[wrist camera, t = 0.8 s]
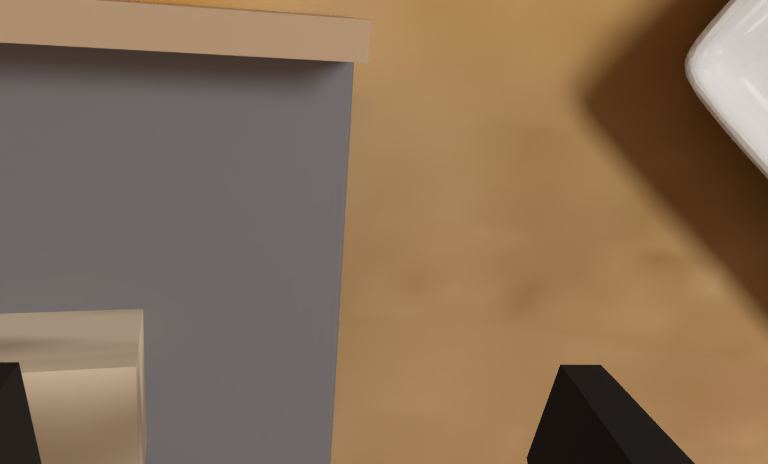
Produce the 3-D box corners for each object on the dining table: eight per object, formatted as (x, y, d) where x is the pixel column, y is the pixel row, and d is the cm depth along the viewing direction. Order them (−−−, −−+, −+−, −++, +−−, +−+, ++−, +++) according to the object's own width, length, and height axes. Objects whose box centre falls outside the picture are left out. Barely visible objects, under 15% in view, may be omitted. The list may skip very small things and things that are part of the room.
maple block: (146, 443, 25) (140, 520, 21) (-15, 456, 24) (-52, 540, 20) (143, 309, 24) (135, 366, 20) (-30, 314, 22) (-71, 377, 19)
